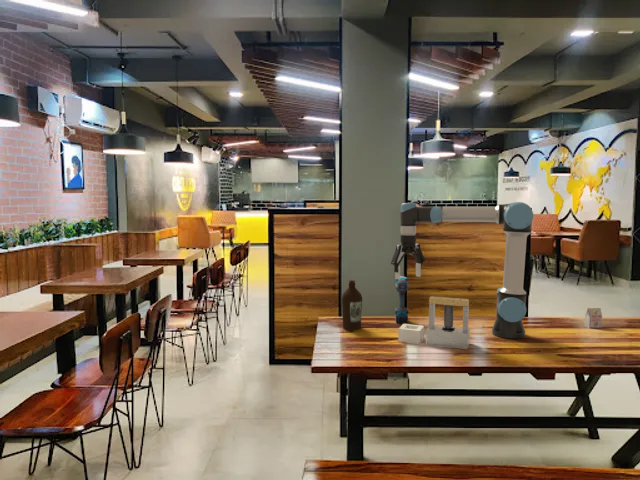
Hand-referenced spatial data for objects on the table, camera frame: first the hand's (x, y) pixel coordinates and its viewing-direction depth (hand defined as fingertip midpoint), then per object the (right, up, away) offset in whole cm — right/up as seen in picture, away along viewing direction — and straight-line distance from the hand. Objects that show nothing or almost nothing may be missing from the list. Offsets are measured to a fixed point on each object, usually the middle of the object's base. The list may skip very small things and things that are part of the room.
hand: (408, 277), depth 230 cm
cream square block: (0, -29, -8) cm, 30 cm away
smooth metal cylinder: (+16, -27, -15) cm, 35 cm away
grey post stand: (+16, -29, -15) cm, 36 cm away
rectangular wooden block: (+16, -11, -16) cm, 25 cm away
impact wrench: (+1, -26, +27) cm, 38 cm away
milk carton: (+99, -27, +13) cm, 103 cm away
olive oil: (-27, -27, +13) cm, 40 cm away
